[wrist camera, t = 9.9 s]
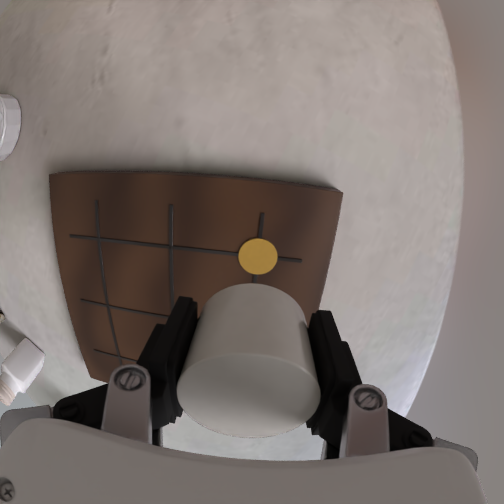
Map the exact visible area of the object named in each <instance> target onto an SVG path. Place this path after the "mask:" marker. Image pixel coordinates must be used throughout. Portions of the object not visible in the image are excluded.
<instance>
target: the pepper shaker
mask: <svg viewBox="0 0 504 504" xmlns="http://www.w3.org/2000/svg"><path fill="white" fill-rule="evenodd" d="M44 359H45V355H44V353H43V352H42V351H41V350H39V349H38V348H37V347H36V346H35V345H34V344H33V343H32V342H31V341H30V340H28V339H27V338H25V339H23V340H22V341H21V342H20V344H19V345H18V346H17V347H16V348H15V349H14V350H13V351H12V352H11V354H10V355H9V356H8V357H7V358H6V359H5V361H4V362H3V363H2V366H1V371H2V374H1V376H0V401H1V402H3V403H4V404H5V405H7V406H9V405H10V404H11V402H12V401H13V399H14V398H15V397H16V394H17V393H18V391H19V392H22V393H25V391H26V390H27V388H28V387H29V386H30V384H31V383H32V381H33V380H34V379H35V377H36V376H37V375H38V373H39V372H40V371H41V369H42V368H43V364H44Z"/></svg>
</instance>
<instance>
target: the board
mask: <svg viewBox="0 0 504 504" xmlns="http://www.w3.org/2000/svg"><path fill="white" fill-rule="evenodd" d="M49 183H50V201H51V213H52V223H53V232H54V239H55V246H56V253H57V259H58V264H59V270H60V275H61V280H62V284H63V289H64V293H65V298H66V302H67V306H68V310H69V313H70V317H71V321H72V324H73V327H74V331H75V334H76V337H77V340H78V344H79V347H80V350H81V353H82V355H83V358H84V361H85V364H86V366H87V369H88V372H89V374H90V377H91V378H93V379H97V380H100V381H103V382H106V383H109V379H110V375H111V373H112V372H113V370H114V369H115V368H117V367H119V366H120V365H124V364H136V362H137V360H138V358H139V356H140V354H141V352H142V351H143V349H144V347H145V345H146V343H147V341H148V339H149V337H150V335H151V333H152V331H153V329H154V327H155V326H156V324H158V323H159V324H166V322H167V320H168V318H169V316H170V314H171V311H172V309H173V307H174V305H175V303H176V301H177V299H178V297H179V296H184V297H192V298H193V301H196V302H197V303H198V317H199V314H200V312H201V309H202V308H203V306H204V305H205V303H206V302H207V301H208V300H209V299H210V298H211V297H212V296H213V295H214V294H216V293H218V292H219V291H221V290H223V289H225V288H228V287H231V286H234V285H239V284H248V283H254V284H263V285H268V286H271V287H274V288H277V289H279V290H281V291H283V292H285V293H286V294H288V295H289V296H290V297H292V298H293V299H294V300H295V301H296V302H297V303H298V305H299V306H300V307H301V309H302V311H303V313H304V316H305V318H306V323H307V327H308V326H309V322H310V319H311V315H312V313H316V312H317V310H319V306H320V302H321V298H322V294H323V290H324V286H325V281H326V277H327V273H328V268H329V264H330V259H331V255H332V250H333V245H334V240H335V235H336V230H337V225H338V220H339V214H340V209H341V203H342V197H343V192H341V191H340V190H338V189H334V188H328V187H321V186H315V185H308V184H300V183H293V182H285V181H277V180H268V179H259V178H249V177H239V176H227V175H215V174H201V173H184V172H162V171H66V172H57V173H53V174H50V175H49Z"/></svg>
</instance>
